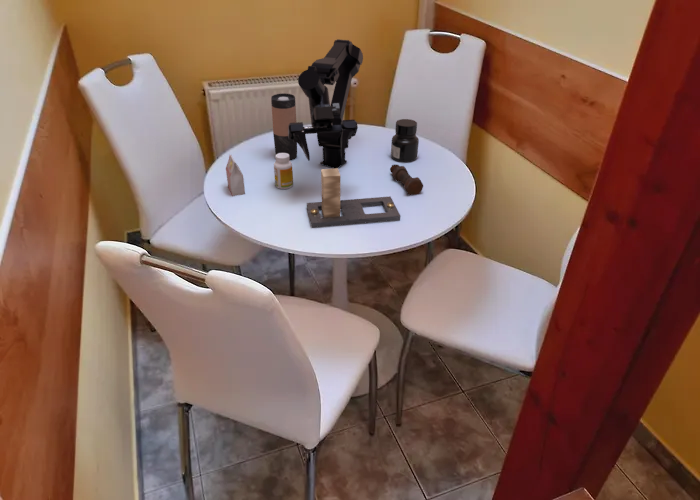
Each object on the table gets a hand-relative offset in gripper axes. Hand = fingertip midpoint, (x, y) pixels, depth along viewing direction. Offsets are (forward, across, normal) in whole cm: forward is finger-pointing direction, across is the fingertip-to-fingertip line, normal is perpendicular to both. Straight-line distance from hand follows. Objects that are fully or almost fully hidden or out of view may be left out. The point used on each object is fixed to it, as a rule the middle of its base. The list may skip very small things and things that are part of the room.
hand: (325, 159), depth 145 cm
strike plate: (+15, +6, +4) cm, 17 cm away
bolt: (+4, +25, +15) cm, 29 cm away
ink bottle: (-9, +30, +28) cm, 42 cm away
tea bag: (+2, -25, +17) cm, 31 cm away
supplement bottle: (+1, -11, +18) cm, 21 cm away
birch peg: (+15, 0, +4) cm, 15 cm away
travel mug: (-14, -9, +32) cm, 36 cm away
